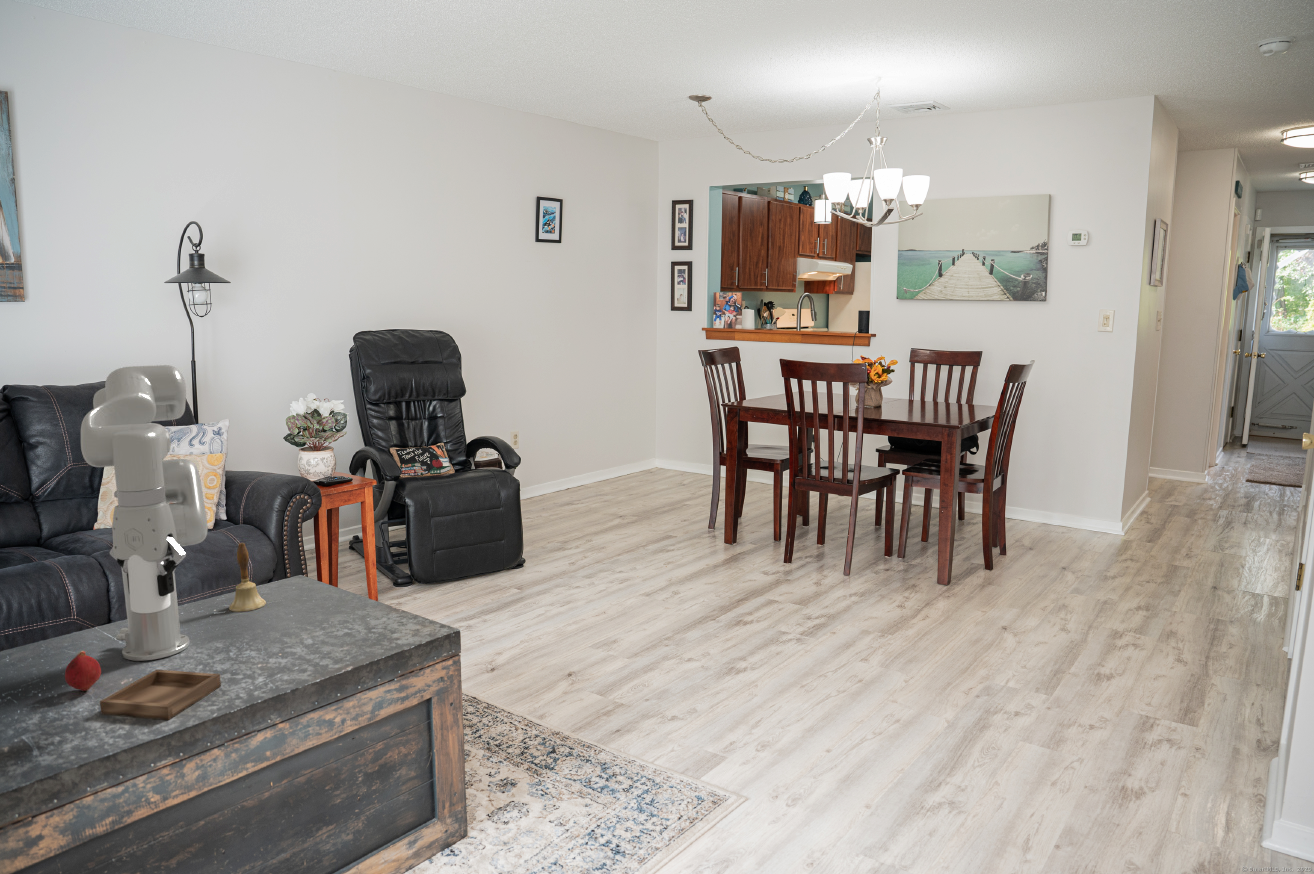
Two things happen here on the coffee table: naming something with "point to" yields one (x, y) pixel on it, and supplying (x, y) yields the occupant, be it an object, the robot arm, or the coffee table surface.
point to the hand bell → (245, 586)
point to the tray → (160, 694)
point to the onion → (82, 672)
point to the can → (145, 587)
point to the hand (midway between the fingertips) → (151, 592)
